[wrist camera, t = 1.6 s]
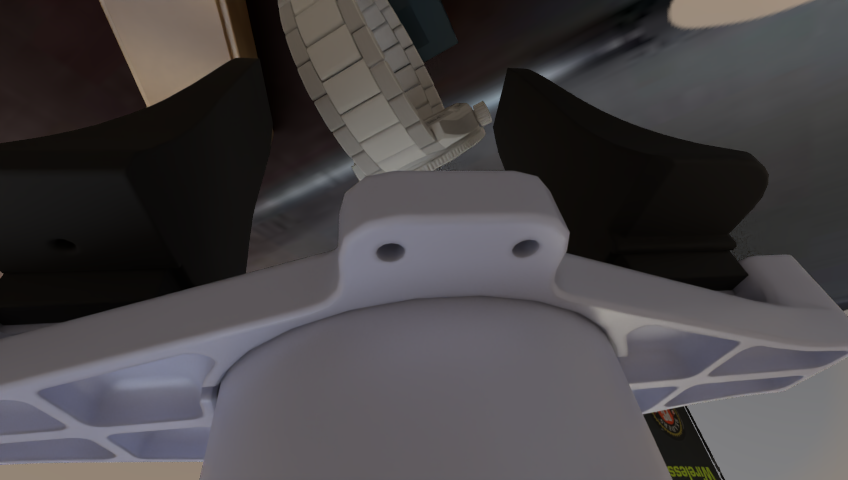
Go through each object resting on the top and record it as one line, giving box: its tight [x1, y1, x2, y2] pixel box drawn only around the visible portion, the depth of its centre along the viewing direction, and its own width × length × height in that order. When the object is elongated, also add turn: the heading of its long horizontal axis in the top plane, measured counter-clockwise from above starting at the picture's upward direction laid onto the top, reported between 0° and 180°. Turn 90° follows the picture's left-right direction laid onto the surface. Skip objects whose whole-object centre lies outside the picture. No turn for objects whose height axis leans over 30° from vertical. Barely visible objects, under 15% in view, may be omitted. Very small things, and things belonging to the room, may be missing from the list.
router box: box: [643, 406, 725, 480], centre depth 38 cm, size 36×11×27 cm, turn 62°
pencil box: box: [99, 0, 274, 143], centre depth 17 cm, size 14×4×3 cm, turn 175°
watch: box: [278, 0, 492, 181], centre depth 15 cm, size 6×8×11 cm
